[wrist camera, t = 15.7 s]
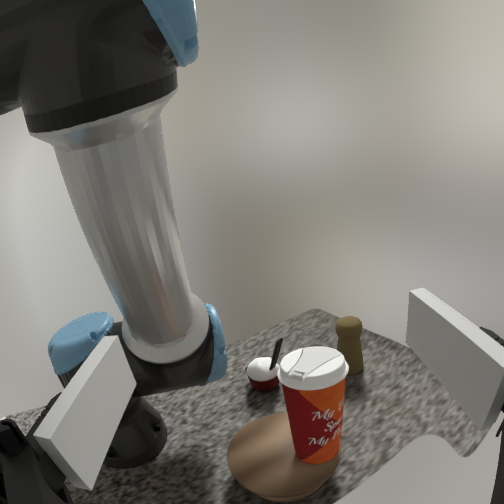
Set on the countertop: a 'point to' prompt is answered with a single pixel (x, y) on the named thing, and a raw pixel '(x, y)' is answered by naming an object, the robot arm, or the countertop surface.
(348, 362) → the cork
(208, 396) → the countertop surface
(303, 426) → the paper cup
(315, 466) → the pedestal stand
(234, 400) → the countertop surface
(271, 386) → the cocoa
